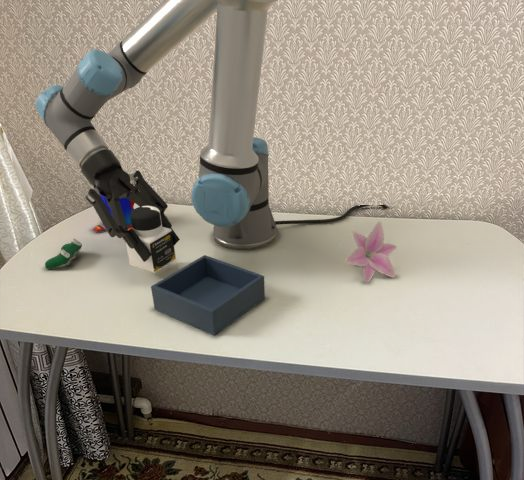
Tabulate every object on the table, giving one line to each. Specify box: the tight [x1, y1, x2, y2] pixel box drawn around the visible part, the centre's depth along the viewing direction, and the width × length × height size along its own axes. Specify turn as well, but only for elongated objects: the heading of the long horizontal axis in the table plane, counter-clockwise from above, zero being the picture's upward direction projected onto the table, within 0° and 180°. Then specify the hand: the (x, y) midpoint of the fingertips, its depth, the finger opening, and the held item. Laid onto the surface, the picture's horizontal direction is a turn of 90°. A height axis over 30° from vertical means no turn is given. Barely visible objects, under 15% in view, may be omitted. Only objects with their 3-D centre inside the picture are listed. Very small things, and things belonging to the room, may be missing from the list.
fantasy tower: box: [92, 190, 136, 234], centre depth 140 cm, size 12×12×12 cm
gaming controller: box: [44, 238, 83, 270], centre depth 127 cm, size 9×4×6 cm
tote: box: [150, 254, 266, 336], centre depth 110 cm, size 16×16×5 cm
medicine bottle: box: [125, 206, 177, 274], centre depth 117 cm, size 7×7×12 cm
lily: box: [344, 220, 398, 284], centre depth 119 cm, size 12×12×10 cm
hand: (162, 250), depth 117 cm, fingers closed on medicine bottle, 8 cm apart
